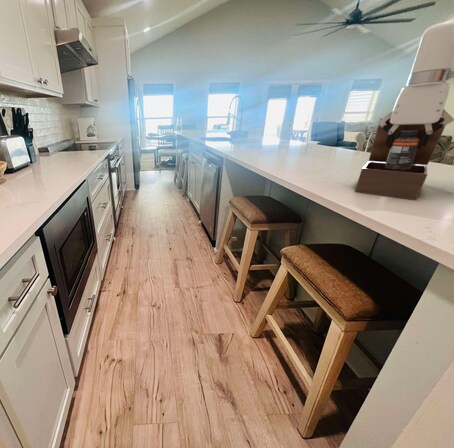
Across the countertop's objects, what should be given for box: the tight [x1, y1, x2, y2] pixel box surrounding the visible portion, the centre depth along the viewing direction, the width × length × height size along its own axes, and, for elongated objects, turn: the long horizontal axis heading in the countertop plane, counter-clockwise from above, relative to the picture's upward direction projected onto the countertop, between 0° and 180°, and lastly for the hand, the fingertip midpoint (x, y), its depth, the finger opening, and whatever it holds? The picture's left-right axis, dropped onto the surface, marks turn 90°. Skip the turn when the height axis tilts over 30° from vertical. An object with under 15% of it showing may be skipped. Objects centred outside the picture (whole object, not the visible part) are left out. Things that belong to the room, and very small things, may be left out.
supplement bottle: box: [385, 130, 420, 170], centre depth 73 cm, size 6×6×11 cm
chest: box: [354, 161, 428, 201], centre depth 77 cm, size 14×14×8 cm
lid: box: [368, 116, 446, 166], centre depth 75 cm, size 15×14×1 cm
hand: (404, 147), depth 73 cm, fingers closed on supplement bottle, 6 cm apart
